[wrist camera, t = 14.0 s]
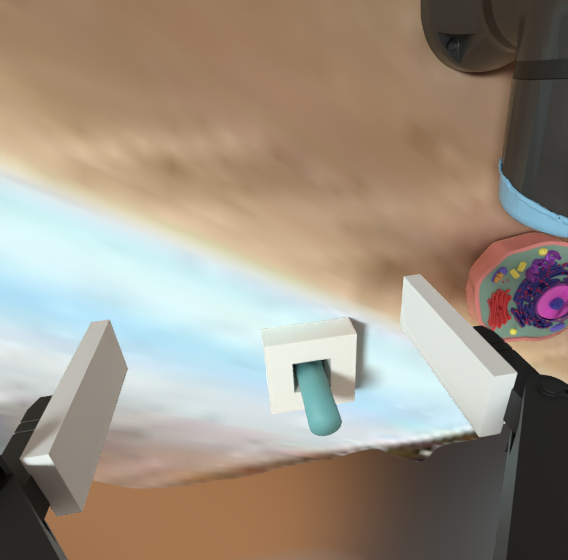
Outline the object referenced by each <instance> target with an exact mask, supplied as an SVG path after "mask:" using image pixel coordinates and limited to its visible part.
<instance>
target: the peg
mask: <svg viewBox="0 0 568 560" xmlns="http://www.w3.org/2000/svg"><path fill="white" fill-rule="evenodd" d="M294 367H295V371H296V375H297V379H298V383H299V387H300V391H301V395H302V399H303V403H304V407H305V411H306V415H307V419H308V423H309V427H310V430H311V432H312V433H314V434H315V435H318V436H326V435H330V434H332V433H334V432H336V431H337V430H338V429H339V428H340V426H341V423H342V420H341V417H340V414H339V411H338V409H337V406H336V403H335V400H334V397H333V394H332V391H331V388H330V386H329V383H328V380H327V377H326V374H325V371H324V368H323V365H322V363H321V360H316V361H309V362H303V363H296V364H294Z"/></svg>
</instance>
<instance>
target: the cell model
mask: <svg viewBox="0 0 568 560" xmlns="http://www.w3.org/2000/svg"><path fill="white" fill-rule="evenodd" d="M465 293H466V301H467V306H468V313H469V316H470V317H471V319H472V320H473V321H474V322H475V323H476V324H477V325H478V326H481V325H483V326H485V327H487V328H488V329H490V330H492V331H494V332H496V333H497V334H498V335H499V336H500V337H501V338H502V339H503V340H504V341H505V342H511V341H520V340H528V341H541V340H545V339H549V338H551V337H553V336H556V335H558V334H559V333H561V332H563V331H565V330H566V329H568V242H564V241H562V240H559V239H557V238H554V237H552V236H549V235H546V234H542V233H536V232H531V233H526V234H522V235H518V236H514V237H510V238H507V239H503V240H499V241H496V242H494V243H492V244H491V245H490V246H489V247H488V248H487V249H486V250H485V251H484V252H483V253H482V254H481V255H480V256H479V258H478V259H477V260H476V261H475V262H474V264H473V265H472V267H471V268H470V271H469V276H468V280H467V283H466V291H465Z"/></svg>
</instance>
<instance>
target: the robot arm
mask: <svg viewBox="0 0 568 560" xmlns="http://www.w3.org/2000/svg"><path fill="white" fill-rule="evenodd" d="M421 19H422V26H423V30H424V34H425V37H426V40H427V42H428V44H429V46H430V48H431V50H432V51H433V53H434V54H435V55H436V56H437V57H438V59H439V60H441V61H442V62H443V63H444V64H445V65H447V66H449V67H451V68H453V69H455V70H459V71H463V72H485V71H491V70H495V69H498V68H501V67H503V66H506V65H508V64H510V63H511V62H513V61H515V67H514V74H513V79H512V86H511V93H510V101H509V108H508V116H507V123H506V130H505V138H504V145H503V153H502V157H501V158H500V160H499V173H500V181H499V200H500V202H501V204H502V206H503V208H504V210H505V211H506V212H507V213H508V214H509V215H510V216H511V217H512V218H514V219H515V220H516V221H518V222H520V223H521V224H523V225H525V226H528V227H530V228H532V229H535V230H537V231H540V232H543V233H547V234H550V235H554V236H559V237H564V238H568V0H421ZM400 326H401V327H402V329H403V330H404V332H405V333H406V335H407V336H408V337H409V339H410V340H411V342H412V343H413V344H414V346H415V347H416V349H417V350H418V351H419V353H420V354H421V356H422V357H423V358H424V360H425V361H426V363H427V364H428V366H429V367H430V368H431V370H432V371H433V373H434V374H435V375H436V377H437V378H438V380H439V381H440V382H441V384H442V385H443V387H444V388H445V390H446V391H447V392H448V394H449V395H450V397H451V398H452V399H453V401H454V402H455V404H456V405H457V406H458V408H459V409H460V411H461V412H462V414H463V415H464V416H465V418H466V419H467V421H468V422H469V423H470V425H471V426H472V428H473V429H474V430H475V432H476V433H477V435H478V436H479V437H483V436H489V435H494V434H499V433H501V430H502V426H503V422H504V421H505V423H506V424H507V425H508V426H509V428H510V429H511V430H512V431H511V434H510V438H509V441H508V444H507V448H506V452H507V460H506V467H505V475H504V482H503V490H502V496H501V504H500V511H499V518H498V525H497V532H496V539H495V547H494V554H493V560H568V384H566V383H565V382H563V381H562V380H560V379H557V378H555V377H552V376H547V375H540V374H539V373H538V372H537V371H536V370H535V369H534V368H533V367H532V366H531V365H530V364H529V363H527V362H526V361H525V360H524V359H523V358H522V357H521V356H520V355H519V354H518V353H517V352H516V351H515V350H512V347H511V346H509V345H508V344H507V343H505V341H504V340H503V339H502V338H501V337H500V336H499V335H498V334H497V333H496V332H494V331H492V330H490V329H488V328H487V327H485V326H483V325H481V326H474V327H472V326H471V325H470V324H469V323H468V322H467V321H466V320H465V319H464V318H463V317H462V316H461V315H460V314H459V313H458V312H457V311H456V310H455V309H454V308H453V307H452V306H451V305H450V304H449V303H448V302H447V301H446V300H445V299H444V298H443V297H442V296H441V295H440V294H439V293H438V292H437V291H436V290H435V289H434V288H433V287H432V286H431V285H430V284H429V283H428V282H427V281H426V280H425V279H424V278H423V277H422V276H421V275H420V274H416V275H409V276H404V281H403V294H402V306H401V319H400ZM127 369H128V368H127V365H126V362H125V360H124V357H123V354H122V352H121V349H120V346H119V343H118V341H117V338H116V335H115V333H114V330H113V327H112V325H111V322H110V320H103V321H97V322H91V324H90V326H89V327H88V329H87V331H86V333H85V335H84V337H83V339H82V341H81V343H80V345H79V346H78V348H77V350H76V352H75V354H74V356H73V358H72V360H71V362H70V364H69V366H68V367H67V369H66V371H65V373H64V375H63V377H62V379H61V381H60V383H59V385H58V386H57V388H56V390H55V392H54V394H53V395H52V396H46V397H40V398H39V399H38V400H37V401H36V402H35V403H34V404H33V405H32V406H31V407H30V408H29V409H28V410H27V412H26V413H25V415H24V417H23V419H22V420H21V424H19V426H18V427H17V429H16V431H15V435H13V436H12V438H11V439H10V441H9V443H8V445H7V446H6V448H5V450H4V452H3V453H2V455H0V560H68V559H67V558H66V556H65V554H64V552H63V551H62V549H61V547H60V545H59V543H58V542H57V540H56V538H55V536H54V534H53V533H52V531H51V529H50V527H49V526H48V524H47V522H46V521H45V519H44V518H45V516H46V513H47V511H48V508H49V506H50V507H51V509H52V510H53V512H54V513H55V515H56V516H62V515H67V514H72V513H78V512H82V511H83V507H84V504H85V501H86V498H87V495H88V491H89V489H90V485H91V482H92V479H93V476H94V473H95V470H96V467H97V463H98V460H99V457H100V454H101V451H102V448H103V445H104V441H105V438H106V435H107V432H108V429H109V426H110V423H111V420H112V416H113V413H114V410H115V407H116V404H117V401H118V398H119V394H120V391H121V388H122V385H123V382H124V379H125V376H126V372H127Z"/></svg>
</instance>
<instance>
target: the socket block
mask: <svg viewBox="0 0 568 560" xmlns="http://www.w3.org/2000/svg"><path fill="white" fill-rule="evenodd" d="M261 333H262V342H263V351H264V360H265V368H266V377H267V386H268V395H269V401H270V408H271V414H278V413H284V412H291V411H297V410H303V409H305V407H304V403H303V399H302V395H301V391H300V387H299V383H298V379H297V375H296V373H293V366H292V364H296V363H303V362H309V361H316V360H323V359H324V371H325V374H326V377H327V380H328V383H329V386H330V388H331V391H332V394H333V397H334V400H335V403H336V404H340V403H346V402H352V401H355V373H356V345H357V333H356V331H355V329H354V327H353V325H352V323H351V322H350V320H349V318H348V317H344V318H337V319H330V320H323V321H315V322H308V323H301V324H294V325H287V326H280V327H272V328H265V329H261Z"/></svg>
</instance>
